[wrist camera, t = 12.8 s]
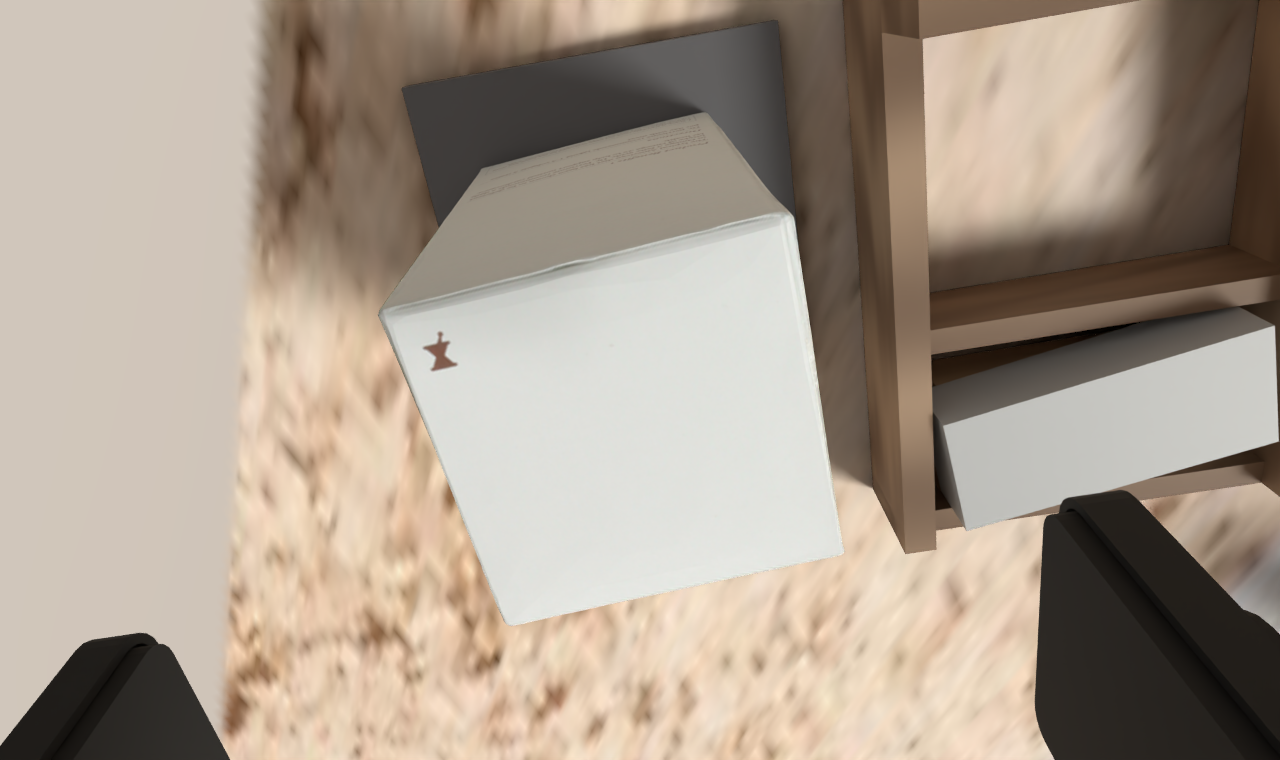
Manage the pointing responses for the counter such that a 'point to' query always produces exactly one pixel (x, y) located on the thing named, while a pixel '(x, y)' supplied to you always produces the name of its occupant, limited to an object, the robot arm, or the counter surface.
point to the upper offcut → (1105, 413)
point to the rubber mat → (606, 106)
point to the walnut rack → (1033, 306)
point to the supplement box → (620, 372)
